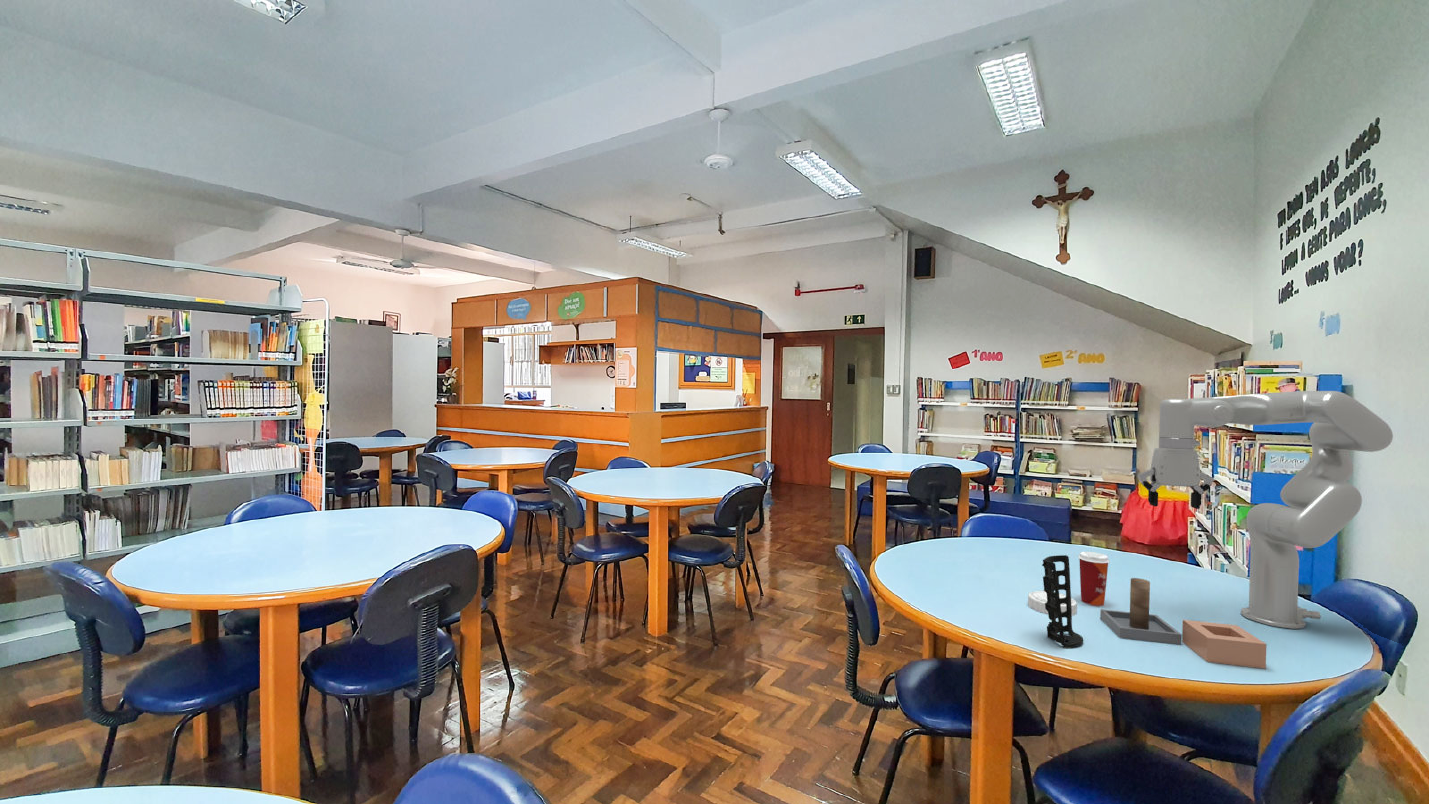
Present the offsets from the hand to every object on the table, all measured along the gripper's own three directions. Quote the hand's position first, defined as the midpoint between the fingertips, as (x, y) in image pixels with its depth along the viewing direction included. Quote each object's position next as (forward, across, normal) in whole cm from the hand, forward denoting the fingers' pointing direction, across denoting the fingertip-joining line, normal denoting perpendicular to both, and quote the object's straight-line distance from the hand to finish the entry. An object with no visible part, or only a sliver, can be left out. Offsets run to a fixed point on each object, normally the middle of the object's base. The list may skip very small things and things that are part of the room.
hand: (1174, 506), depth 158 cm
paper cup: (+31, +17, -6) cm, 35 cm away
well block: (+30, 0, +24) cm, 39 cm away
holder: (+31, +34, +26) cm, 53 cm away
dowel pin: (+29, +13, +14) cm, 35 cm away
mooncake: (+31, +30, +3) cm, 43 cm away
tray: (+30, +13, +14) cm, 36 cm away
